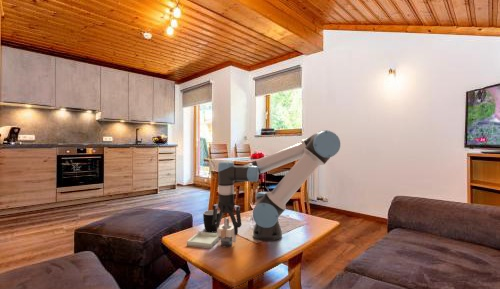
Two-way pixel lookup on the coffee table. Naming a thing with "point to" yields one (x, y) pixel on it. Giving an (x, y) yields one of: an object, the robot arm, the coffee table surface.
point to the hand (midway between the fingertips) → (226, 240)
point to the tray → (203, 240)
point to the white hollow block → (225, 231)
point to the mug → (209, 220)
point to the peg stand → (227, 240)
